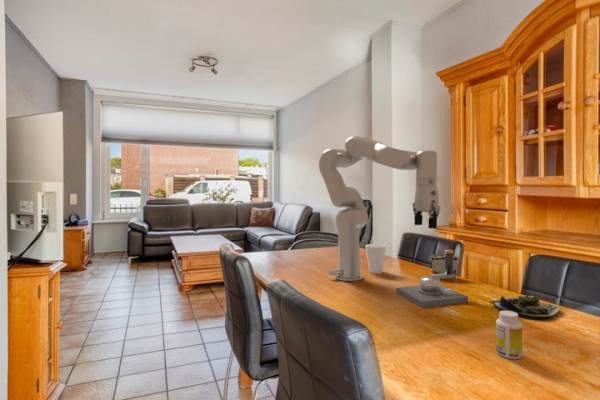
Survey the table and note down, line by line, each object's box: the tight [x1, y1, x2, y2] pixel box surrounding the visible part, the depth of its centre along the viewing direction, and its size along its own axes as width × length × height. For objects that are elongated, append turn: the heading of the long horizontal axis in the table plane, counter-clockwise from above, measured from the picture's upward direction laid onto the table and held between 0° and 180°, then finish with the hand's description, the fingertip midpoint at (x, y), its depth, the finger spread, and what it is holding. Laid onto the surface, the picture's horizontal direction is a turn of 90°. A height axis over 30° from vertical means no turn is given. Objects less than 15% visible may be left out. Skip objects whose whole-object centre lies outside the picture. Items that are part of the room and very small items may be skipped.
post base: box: [395, 284, 469, 308], centre depth 133 cm, size 18×18×3 cm
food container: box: [429, 253, 460, 280], centre depth 161 cm, size 12×6×10 cm, turn 84°
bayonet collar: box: [419, 249, 455, 292], centre depth 133 cm, size 13×9×14 cm
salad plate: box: [489, 295, 561, 321], centre depth 119 cm, size 19×18×5 cm
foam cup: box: [365, 243, 387, 275], centre depth 173 cm, size 10×9×13 cm
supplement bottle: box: [495, 310, 523, 360], centre depth 87 cm, size 6×6×10 cm
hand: (425, 226), depth 140 cm, fingers open, 9 cm apart
